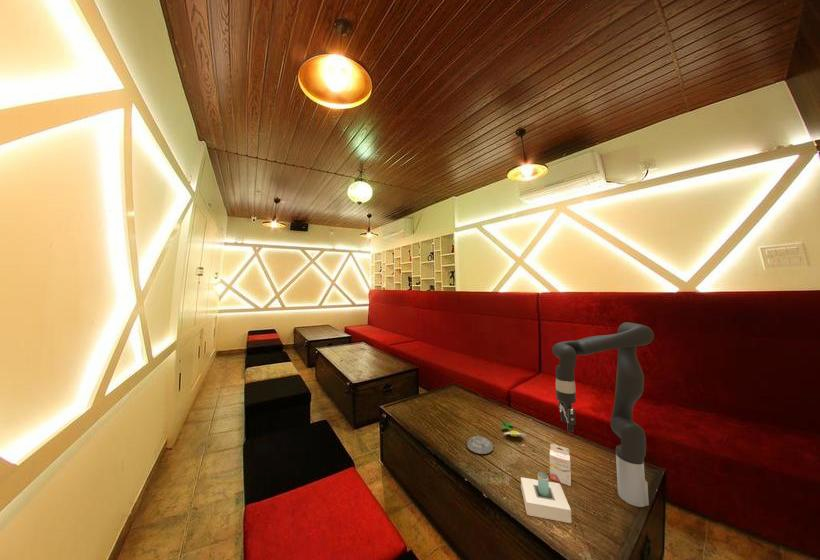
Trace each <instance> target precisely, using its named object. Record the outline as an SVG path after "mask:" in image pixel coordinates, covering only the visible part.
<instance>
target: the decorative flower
mask: <svg viewBox="0 0 820 560" xmlns="http://www.w3.org/2000/svg"><path fill="white" fill-rule="evenodd" d="M500 420H501V421H502V422H503V424H504V425H502V426H501V428H502V429H509V430H510V431H507V432H503V435H510V436H511V437H519V436H520V437H521V438H522V437H524V436H525V437H526V436H527V434H525V433H522V432H519V431H517V430H512V428H511V427H514V424H512V423H507V422H506V421H504V420H503V418H500Z"/></svg>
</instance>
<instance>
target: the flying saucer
mask: <svg viewBox="0 0 820 560" xmlns="http://www.w3.org/2000/svg"><path fill="white" fill-rule="evenodd" d="M466 447H467V448H468V449H469V450H470V451H471V452H473V453H475V454H479V455H486V454H489V453H491V452H492V451H493V450H494V445H493V443H492V441H491V440H489V439H488V438H486V437H483V436H479V435H475V436H472V437H470V438H469V439H467V441H466Z"/></svg>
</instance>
